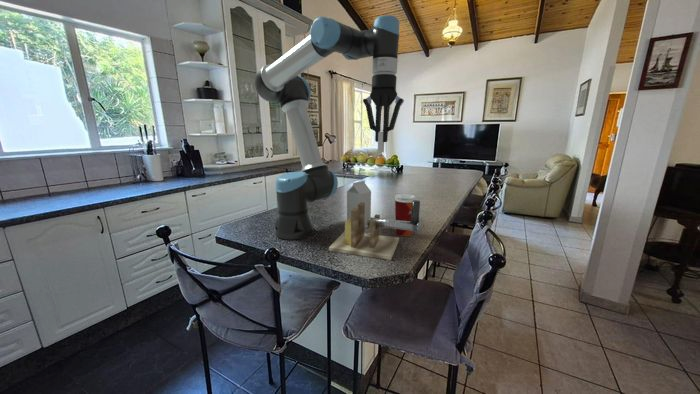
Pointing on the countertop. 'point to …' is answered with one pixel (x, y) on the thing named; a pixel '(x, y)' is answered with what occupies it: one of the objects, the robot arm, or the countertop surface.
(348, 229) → the spacer
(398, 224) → the silver bent bar
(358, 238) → the wooden stand with blocks
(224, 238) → the countertop surface
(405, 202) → the coffee cup
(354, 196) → the milk carton
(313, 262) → the countertop surface
